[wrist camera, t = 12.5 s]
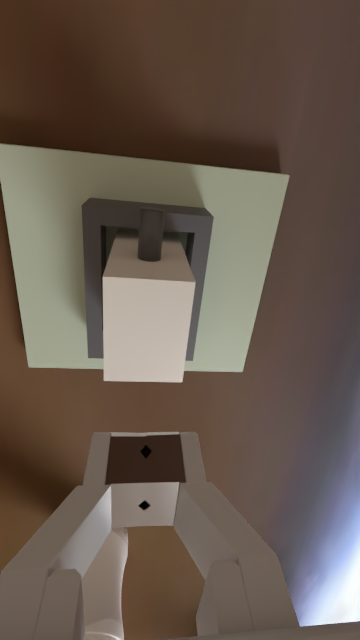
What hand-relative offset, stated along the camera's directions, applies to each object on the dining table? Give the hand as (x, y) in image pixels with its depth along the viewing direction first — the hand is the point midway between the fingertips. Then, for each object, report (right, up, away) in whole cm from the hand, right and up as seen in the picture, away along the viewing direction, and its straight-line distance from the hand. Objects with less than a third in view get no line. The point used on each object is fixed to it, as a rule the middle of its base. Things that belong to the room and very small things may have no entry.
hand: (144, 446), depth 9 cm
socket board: (-2, +7, +15) cm, 17 cm away
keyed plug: (-1, +7, +14) cm, 15 cm away
